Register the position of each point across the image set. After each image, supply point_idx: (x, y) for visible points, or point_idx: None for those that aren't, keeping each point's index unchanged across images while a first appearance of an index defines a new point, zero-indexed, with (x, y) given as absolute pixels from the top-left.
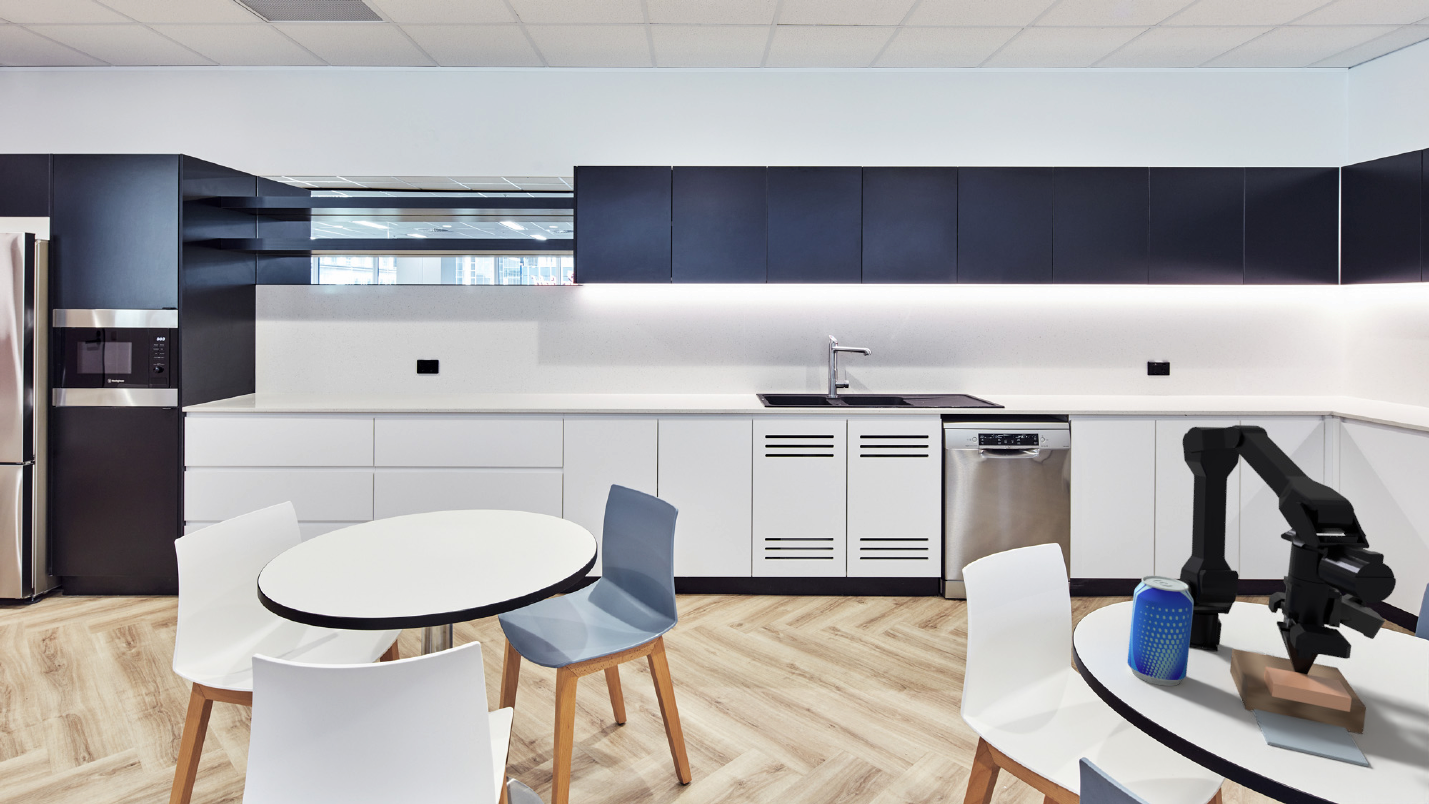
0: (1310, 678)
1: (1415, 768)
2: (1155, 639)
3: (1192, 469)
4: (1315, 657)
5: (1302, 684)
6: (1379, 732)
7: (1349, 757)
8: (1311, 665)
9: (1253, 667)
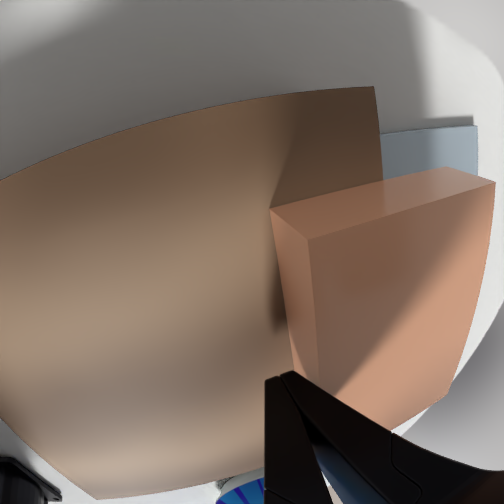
0: (367, 357)
1: (426, 17)
2: None
3: None
4: (421, 450)
5: (436, 351)
6: (243, 36)
7: (471, 160)
8: (362, 416)
9: (212, 464)
